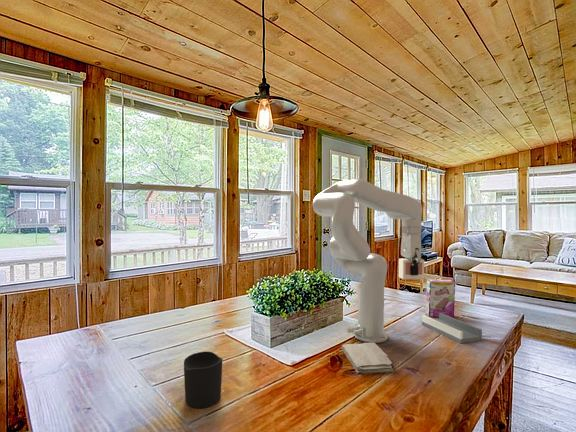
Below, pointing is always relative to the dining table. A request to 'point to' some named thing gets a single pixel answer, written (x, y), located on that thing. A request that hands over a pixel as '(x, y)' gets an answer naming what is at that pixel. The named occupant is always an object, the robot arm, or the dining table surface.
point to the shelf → (453, 328)
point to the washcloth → (367, 358)
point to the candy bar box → (440, 297)
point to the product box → (405, 269)
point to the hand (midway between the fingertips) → (411, 273)
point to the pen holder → (202, 379)
